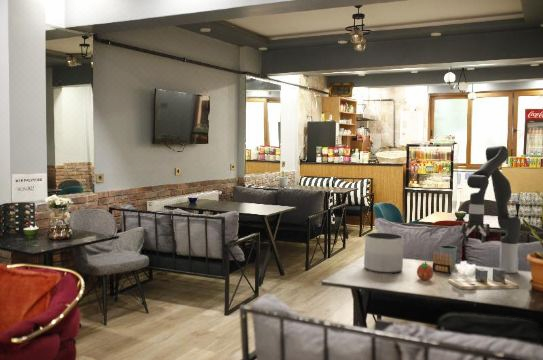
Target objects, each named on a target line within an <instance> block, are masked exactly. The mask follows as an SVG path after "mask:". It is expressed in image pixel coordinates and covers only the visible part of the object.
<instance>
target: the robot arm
mask: <svg viewBox="0 0 543 360" xmlns="http://www.w3.org/2000/svg"><path fill="white" fill-rule="evenodd" d="M485 158H486V162H484V163H483V164H482V165H481V166H480V167H479V168H478V169H477V170H476V171H474V172H472V173H471V174H470V175H469V176H468V177H467V179H466V180H467V182H466V183H467V186H468V187H469V188H471V189H478V190H479V191H477V192H471V193H470V195H469V198H470V199H469V206H468V222H467V223H466V222H462V224H461V231H460V232H461V235H464V241H465V243H469V234H470V233H472V232H478V233H480V234H481V244H485V242H486V236H489V235H490V231H491V230H490V225H491V224H489V223H487V222H486V223H484V220H485V219H484V217H485V216H484V215H485V195H486V192H487V190H488V186H489V181H490V180H489V179H490V177H491V183H492V188H493V193H494V194H493V195H494V199H495V205H496V212H497V213H496V214H497V215H496V216H497V223H498V226H499V229H501V230H503V231H507V232H506V235H504V236H500V244H499V263H498V264H499V265H498V268H501V269H503V270H505V274H516V273H518V272H519V256H518V248H519V247H518V245H519V239H520V235H521V226H522V225H521V224H522V223H521V219H520V217H518V216H516V215H510V214H509V209H508V206H509V205H508V204H509V203H510V200H511V197H512V187H511V183H510V181H509V179H508V178H507V177H506V176H505V175H504V174H503V173H502V171H500V169H499V167H500V166H501V165H503V164H504V163H505V162H506V161H507V160H508V158H509V150H508V147H506V146H505V145H497V146H496V145H495V146H488V147H487V148H486V149H485ZM467 227H468V228H467ZM484 228H485V230H484Z"/></svg>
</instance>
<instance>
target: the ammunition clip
mask: <svg viewBox="0 0 543 360" xmlns="http://www.w3.org/2000/svg"><path fill="white" fill-rule="evenodd" d="M431 267H432V269H433V273H438V274H446V275H452V268H451V253H450V255H449V261H448V253H447V254H446V260H445V253H443V259H442V252H441V253H440V251H437V252H436V251H434V252H433V258H432V266H431Z"/></svg>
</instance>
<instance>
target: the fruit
mask: <svg viewBox="0 0 543 360" xmlns="http://www.w3.org/2000/svg"><path fill="white" fill-rule="evenodd" d="M416 274H417V277H418V279H420V280H422V281H430V280H431V279H432V278H433V276H434V272H433V269H432V266H431V265H430V264H428V263H427V261H424V263H421V264H419V266H418V267H417V270H416Z"/></svg>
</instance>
